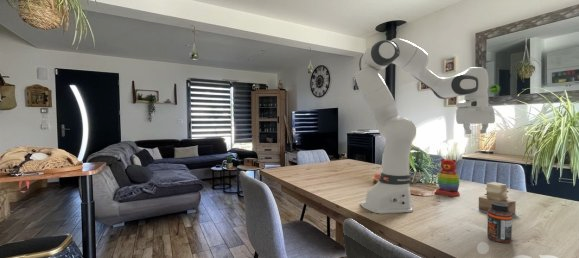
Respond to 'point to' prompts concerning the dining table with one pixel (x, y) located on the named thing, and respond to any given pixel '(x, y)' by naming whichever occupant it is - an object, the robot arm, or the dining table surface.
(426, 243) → the dining table surface
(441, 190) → the stacking bear
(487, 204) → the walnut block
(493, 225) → the supplement bottle
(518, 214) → the base plate
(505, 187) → the oak block
